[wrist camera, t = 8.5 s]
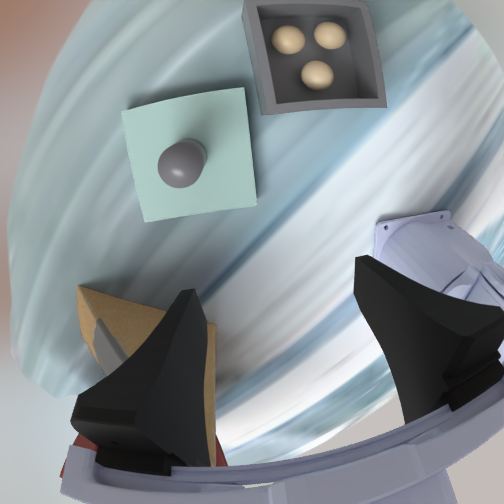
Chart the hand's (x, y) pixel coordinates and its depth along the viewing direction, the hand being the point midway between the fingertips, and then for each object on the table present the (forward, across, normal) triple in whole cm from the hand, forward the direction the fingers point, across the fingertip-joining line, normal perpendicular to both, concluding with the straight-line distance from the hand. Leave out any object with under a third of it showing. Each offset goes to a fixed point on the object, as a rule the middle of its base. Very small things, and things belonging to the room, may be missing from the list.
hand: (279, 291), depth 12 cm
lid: (+10, +4, -5) cm, 12 cm away
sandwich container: (+11, +15, +11) cm, 21 cm away
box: (+10, -6, -11) cm, 16 cm away
